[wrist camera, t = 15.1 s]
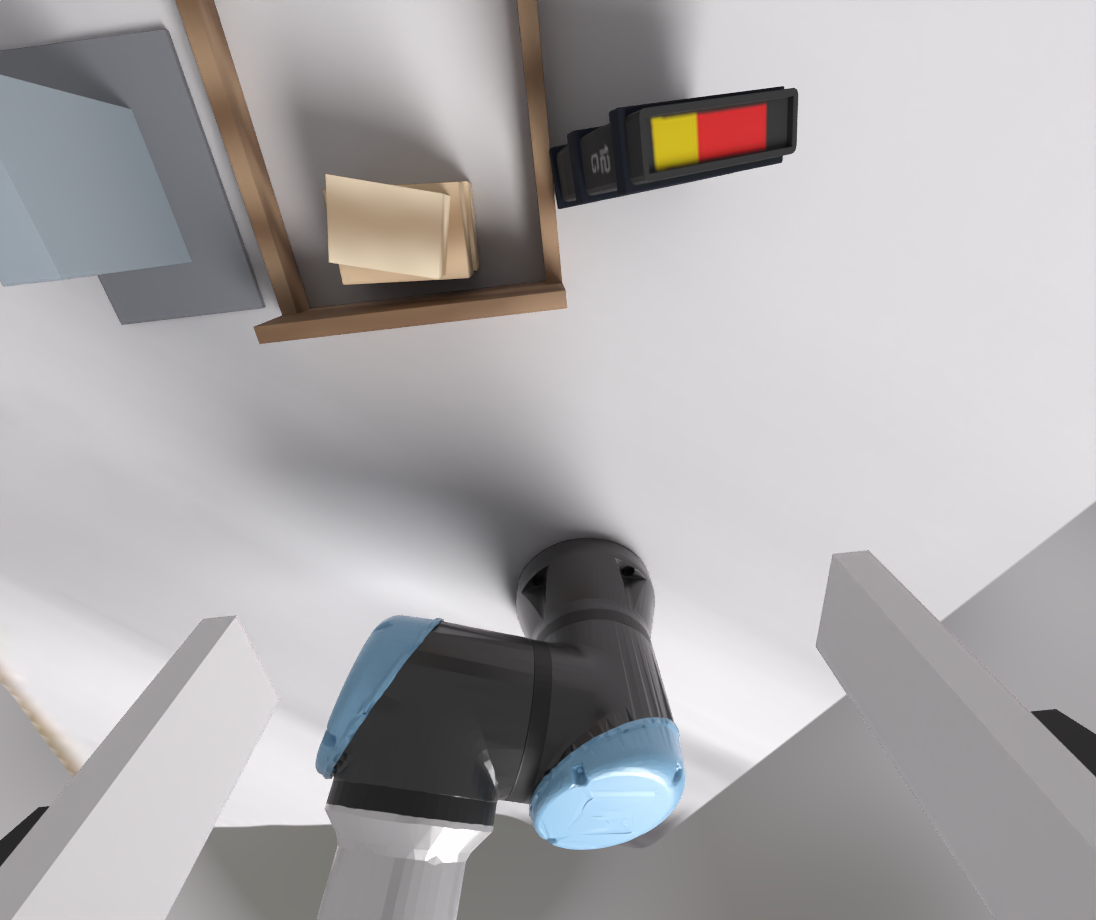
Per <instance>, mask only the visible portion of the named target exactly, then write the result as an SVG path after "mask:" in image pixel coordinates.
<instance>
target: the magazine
mask: <svg viewBox="0 0 1096 920" xmlns="http://www.w3.org/2000/svg"><path fill="white" fill-rule="evenodd" d="M797 114H798V92H797V89H795V88H790V89H784V87H783V86H781V87H774V88H766V89H759V90H751V91H743V92H736V93H728V94H720V95H713V96H705V97H697V98H690V99H682V100H674V101H667V102H659V103H651V104H644V105H636V106H628V107H621V108H617V109H614V110H612V111H610V112H609V118H610V123H609V124H607V125H604V126H601V127H595V128H588V129H582V130H576V131H572V132H571V133H569V134H567V139H568V144H567V145H562V146H557V147H552V148H550V149H549V155H550V162H551V168H552V174H553V181H554V187H555V193H556V200H557V206H558V209H562V208H567V207H572V206H577V205H582V204H586V203H591V202H596V201H601V200H606V199H611V198H615V197H620V196H625V195H630V194H635V193H639V192H644V191H649V190H654V189H659V188H664V187H668V186H673V185H678V184H683V183H688V182H693V181H697V180H702V179H707V178H711V177H716V176H721V175H726V174H730V173H734V172H738V171H743V170H748V169H753V168H758V167H763V166H768V165H773V164H777V163H781V162H782V160H783V155H788V154H792V153H793V152H794V151H795V149H796V144H797Z"/></svg>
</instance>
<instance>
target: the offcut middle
mask: <svg viewBox="0 0 1096 920" xmlns="http://www.w3.org/2000/svg"><path fill="white" fill-rule="evenodd" d="M394 186H400V187H406V188H412V189H418V190H424V191H430V192H436V193H442V194H446V195H449V196H450V210H449V227H448V245H447V263H446V275H445V276H443V277H441V278H440V279H434V278H428V277H421V276H415V275H408V274H401V273H395V272H388V271H382V270H375V269H369V268H362V267H355V266H349V265H342V264H339V268H340V273H341V277H342V282H343V285H349V284H367V283H386V282H405V281H423V280H442V279H460V278H470V277H471V276H472V275H473V274H474V273H473V264H472V255H471V245H470V236H469V227H468V218H467V208H466V199H465V190H464V184H462V183H459V182H448V183H429V184H410V185H394ZM322 191H323V196H324V200H325V205H326V209H327V201H326V189H322Z"/></svg>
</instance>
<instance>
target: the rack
mask: <svg viewBox="0 0 1096 920" xmlns="http://www.w3.org/2000/svg"><path fill="white" fill-rule="evenodd" d="M176 3H177V6H178V9H179V12H180V15H181V18H182V21H183V24H184V27H185V30H186V33H187V36H188V39H189V42H190V45H191V48H192V51H193V53H194V56H195V59H196V62H197V65H198V68H199V71H200V74H201V77H202V80H203V83H204V86H205V89H206V92H207V95H208V98H209V101H210V104H211V107H212V109H213V112H214V115H215V118H216V121H217V124H218V127H219V130H220V133H221V136H222V139H223V142H224V145H225V148H226V151H227V154H228V157H229V160H230V162H231V165H232V168H233V171H234V174H235V177H236V180H237V183H238V186H239V189H240V192H241V195H242V198H243V201H244V204H245V207H246V210H247V213H248V216H249V218H250V221H251V224H252V227H253V230H254V233H255V236H256V239H257V242H258V245H259V248H260V251H261V254H262V257H263V260H264V263H265V266H266V269H267V272H268V274H269V277H270V280H271V283H272V286H273V289H274V292H275V295H276V298H277V301H278V304H279V307H280V310H281V313H282V316H280V317H277V318H275V319H272V320H270V321H267V322H265V323H262V324H260V325H257V326H255V327H254V330H255V332H256V335H257V338H258V341H259V343H260V344H263V343H271V342H280V341H289V340H297V339H306V338H314V337H323V336H332V335H340V334H349V333H357V332H366V331H375V330H383V329H392V328H401V327H409V326H418V325H426V324H435V323H444V322H452V321H461V320H469V319H478V318H487V317H495V316H504V315H513V314H521V313H530V312H538V311H547V310H556V309H564V308H567V302H566V291H565V288H564V286H563V284H562V276H561V265H560V254H559V243H558V232H557V221H556V210H555V199H554V188H553V177H552V168H551V162H550V155H549V149H550V143H549V132H548V121H547V110H546V99H545V88H544V77H543V66H542V55H541V44H540V32H539V21H538V10H537V0H517V6H518V16H519V25H520V35H521V45H522V54H523V64H524V74H525V83H526V93H527V102H528V112H529V122H530V131H531V141H532V151H533V160H534V170H535V179H536V189H537V199H538V208H539V218H540V228H541V237H542V247H543V257H544V266H545V276H546V281H539V282H530V283H522V284H513V285H505V286H496V287H488V288H479V289H471V290H462V291H454V292H445V293H437V294H428V295H420V296H411V297H403V298H394V299H386V300H377V301H369V302H360V303H352V304H343V305H335V306H326V307H318V308H310V306H309V303H308V300H307V297H306V294H305V290H304V287H303V284H302V281H301V278H300V274H299V271H298V268H297V265H296V262H295V258H294V255H293V252H292V249H291V246H290V242H289V239H288V236H287V233H286V230H285V226H284V223H283V220H282V217H281V214H280V210H279V207H278V204H277V201H276V198H275V194H274V191H273V188H272V185H271V182H270V178H269V175H268V172H267V169H266V166H265V163H264V159H263V156H262V153H261V150H260V147H259V143H258V140H257V137H256V134H255V131H254V127H253V124H252V121H251V118H250V115H249V111H248V108H247V105H246V102H245V99H244V95H243V92H242V89H241V86H240V83H239V79H238V76H237V73H236V70H235V67H234V63H233V60H232V57H231V54H230V51H229V47H228V44H227V41H226V38H225V35H224V32H223V28H222V25H221V22H220V19H219V16H218V12H217V9H216V6H215V3H214V0H176Z"/></svg>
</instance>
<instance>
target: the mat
mask: <svg viewBox="0 0 1096 920" xmlns="http://www.w3.org/2000/svg"><path fill="white" fill-rule="evenodd" d="M0 75H3V76H7V77H11V78H15V79H19V80H22V81H26V82H30V83H34V84H37V85H41V86H45V87H49V88H53V89H56V90H60V91H64V92H68V93H71V94H75V95H79V96H83V97H87V98H90V99H94V100H98V101H102V102H105V103H109V104H113V105H117V106H121V107H124V108H128V109H132V111H133V114H134V117H135V119H136V122H137V124H138V127H139V129H140V132H141V134H142V137H143V139H144V142H145V144H146V147H147V149H148V152H149V154H150V157H151V159H152V162H153V165H154V167H155V170H156V172H157V175H158V177H159V180H160V182H161V185H162V187H163V190H164V192H165V195H166V197H167V200H168V202H169V205H170V208H171V210H172V213H173V215H174V218H175V220H176V223H177V225H178V228H179V230H180V233H181V235H182V238H183V240H184V243H185V245H186V248H187V250H188V253H189V256H190V258H191V261H192V262H188V263H181V264H174V265H166V266H159V267H152V268H144V269H137V270H130V271H122V272H115V273H108V274H100V275H98V277H99V279H100V281H101V283H102V285H103V288H104V290H105V292H106V294H107V296H108V298H109V300H110V302H111V304H112V306H113V308H114V310H115V312H116V314H117V316H118V318H119V320H120V323H121V325H123V324H132V323H140V322H149V321H157V320H166V319H174V318H183V317H191V316H200V315H208V314H217V313H225V312H234V311H242V310H251V309H259V308H265V304H264V301H263V298H262V295H261V292H260V290H259V287H258V284H257V281H256V278H255V275H254V273H253V270H252V267H251V264H250V261H249V258H248V256H247V253H246V250H245V247H244V244H243V241H242V238H241V236H240V233H239V230H238V227H237V224H236V221H235V219H234V216H233V213H232V210H231V207H230V204H229V201H228V199H227V196H226V193H225V190H224V187H223V184H222V182H221V179H220V176H219V173H218V170H217V167H216V164H215V162H214V159H213V156H212V153H211V150H210V147H209V145H208V142H207V139H206V136H205V133H204V130H203V128H202V125H201V122H200V119H199V116H198V113H197V110H196V108H195V105H194V102H193V99H192V96H191V93H190V91H189V88H188V85H187V82H186V79H185V76H184V73H183V71H182V68H181V65H180V62H179V59H178V56H177V54H176V51H175V48H174V45H173V42H172V39H171V36H170V34H169V31H167V30H165V29H162V30H154V31H147V32H139V33H132V34H124V35H116V36H109V37H101V38H94V39H86V40H78V41H71V42H63V43H56V44H48V45H40V46H33V47H25V48H18V49H10V50H3V51H0Z"/></svg>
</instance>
